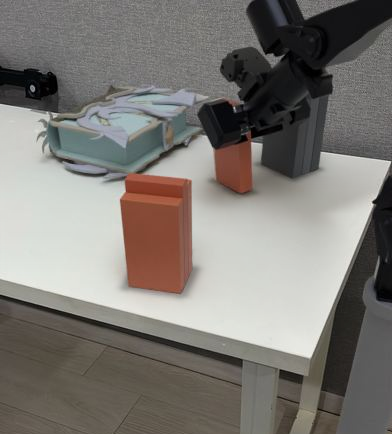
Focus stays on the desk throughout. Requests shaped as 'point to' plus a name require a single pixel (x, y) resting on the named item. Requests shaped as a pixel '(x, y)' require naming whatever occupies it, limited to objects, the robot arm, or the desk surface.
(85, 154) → the ornate book
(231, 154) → the terracotta book
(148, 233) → the terracotta books
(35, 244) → the desk surface
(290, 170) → the grey books
